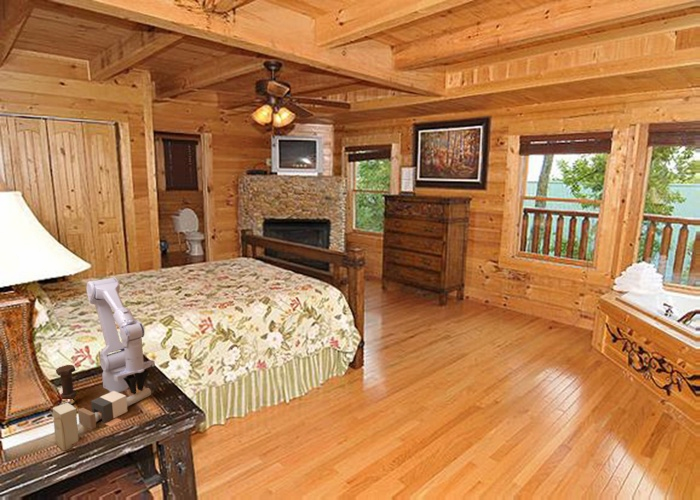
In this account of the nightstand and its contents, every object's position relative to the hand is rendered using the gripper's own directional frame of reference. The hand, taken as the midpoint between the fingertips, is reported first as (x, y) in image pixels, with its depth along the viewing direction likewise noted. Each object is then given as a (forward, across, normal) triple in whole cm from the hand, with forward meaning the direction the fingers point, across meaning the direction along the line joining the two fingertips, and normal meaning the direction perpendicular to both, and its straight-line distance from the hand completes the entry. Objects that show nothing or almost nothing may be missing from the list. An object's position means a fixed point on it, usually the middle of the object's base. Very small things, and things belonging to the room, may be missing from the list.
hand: (136, 391), depth 150 cm
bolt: (+5, -14, +19) cm, 24 cm away
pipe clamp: (+5, -8, 0) cm, 9 cm away
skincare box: (+5, -26, -3) cm, 26 cm away
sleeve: (+4, -9, 0) cm, 10 cm away
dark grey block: (+4, -13, 0) cm, 13 cm away
